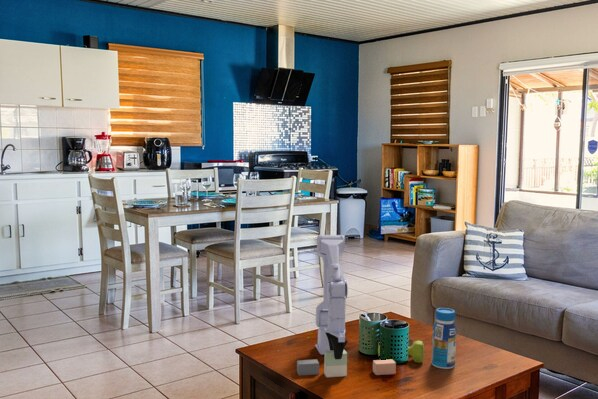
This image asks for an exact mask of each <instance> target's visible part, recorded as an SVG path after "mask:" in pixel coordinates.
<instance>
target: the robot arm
mask: <svg viewBox="0 0 598 399" xmlns="http://www.w3.org/2000/svg"><path fill="white" fill-rule="evenodd" d="M345 244H346V243H345V236H344V235H343V234H318V235H317V237H316V254H317V256H318V257H320V258H321V259H322V262H323V273H322V274H323V275H322V276H323V277H322V279H323V284H322V285H323V286H322V287H323V292H322V293H323V295H322V296H323V298H322V299H323V300H322V301H321V302H320V303H319V304H317V306H316V308H315V326H316V327H317V328H318V329H317V344H315V345H314V346H315V348H316V350H317V352H318V353H319V355H325V351H330V350H334V357H335V359H341V358H342V355H343V351H344V350H345V347H346V345H347V344H348V342H349V340H348V338H346V306H347V305H346V303H347V302H346V299H348V295H349V294H348V293H349V290H348V289H349V288H348V282H347V280H346V278H345V273H344V268H343V266H342V265H340V257H342V255H343V253H344V251H345V246H346V245H345Z"/></svg>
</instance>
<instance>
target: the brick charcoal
mask: <svg viewBox="0 0 598 399" xmlns="http://www.w3.org/2000/svg"><path fill="white" fill-rule="evenodd" d="M296 373H297V375H298V376H309V375H310V376H314V375H319V374H320V362H319V361H318V359H315V358H314V359H303V360H302V359H301V360H300V359H299V360H296Z"/></svg>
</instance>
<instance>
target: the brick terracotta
mask: <svg viewBox="0 0 598 399" xmlns="http://www.w3.org/2000/svg"><path fill="white" fill-rule="evenodd" d="M396 369H397V362H396V361H395V360H394V359H393V358H392V359H391V358H390V359H386V360H381V359H375V360H374V359H373V360H372V372H373V373H374V375H376V376H380V375H386V376H387V375H396V372H397V370H396Z"/></svg>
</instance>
